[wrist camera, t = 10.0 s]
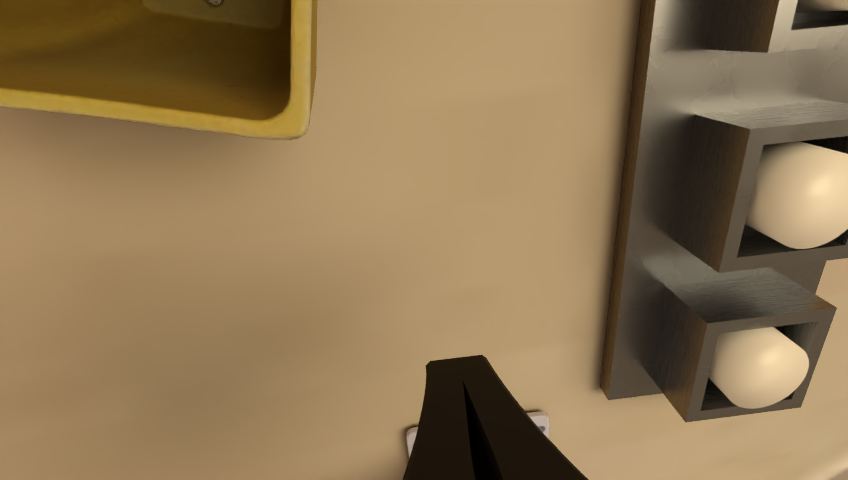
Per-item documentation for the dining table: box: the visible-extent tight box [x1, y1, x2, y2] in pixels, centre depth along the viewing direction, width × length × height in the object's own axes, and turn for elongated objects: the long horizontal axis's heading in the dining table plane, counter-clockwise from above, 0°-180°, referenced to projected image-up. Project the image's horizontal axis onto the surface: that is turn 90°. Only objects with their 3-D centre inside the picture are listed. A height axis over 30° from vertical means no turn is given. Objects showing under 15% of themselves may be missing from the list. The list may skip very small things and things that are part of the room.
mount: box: [600, 0, 848, 422], centre depth 18 cm, size 24×10×4 cm, turn 5°
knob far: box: [709, 327, 809, 409], centre depth 21 cm, size 4×4×4 cm
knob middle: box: [745, 141, 848, 249], centre depth 18 cm, size 4×4×4 cm
